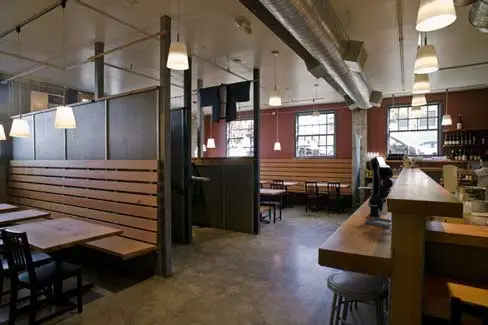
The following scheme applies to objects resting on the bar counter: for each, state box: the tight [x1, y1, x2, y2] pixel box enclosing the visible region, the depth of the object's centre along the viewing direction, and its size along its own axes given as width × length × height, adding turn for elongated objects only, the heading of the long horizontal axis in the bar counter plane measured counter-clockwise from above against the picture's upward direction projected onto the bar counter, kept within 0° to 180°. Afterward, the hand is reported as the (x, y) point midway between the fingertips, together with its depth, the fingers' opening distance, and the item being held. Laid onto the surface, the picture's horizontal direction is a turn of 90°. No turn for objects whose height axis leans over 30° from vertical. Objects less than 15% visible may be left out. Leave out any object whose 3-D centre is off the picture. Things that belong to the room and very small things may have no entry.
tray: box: [364, 216, 392, 229], centre depth 197 cm, size 15×15×2 cm
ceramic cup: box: [378, 201, 388, 216], centre depth 197 cm, size 5×5×8 cm
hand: (382, 211), depth 197 cm, fingers closed on ceramic cup, 5 cm apart
